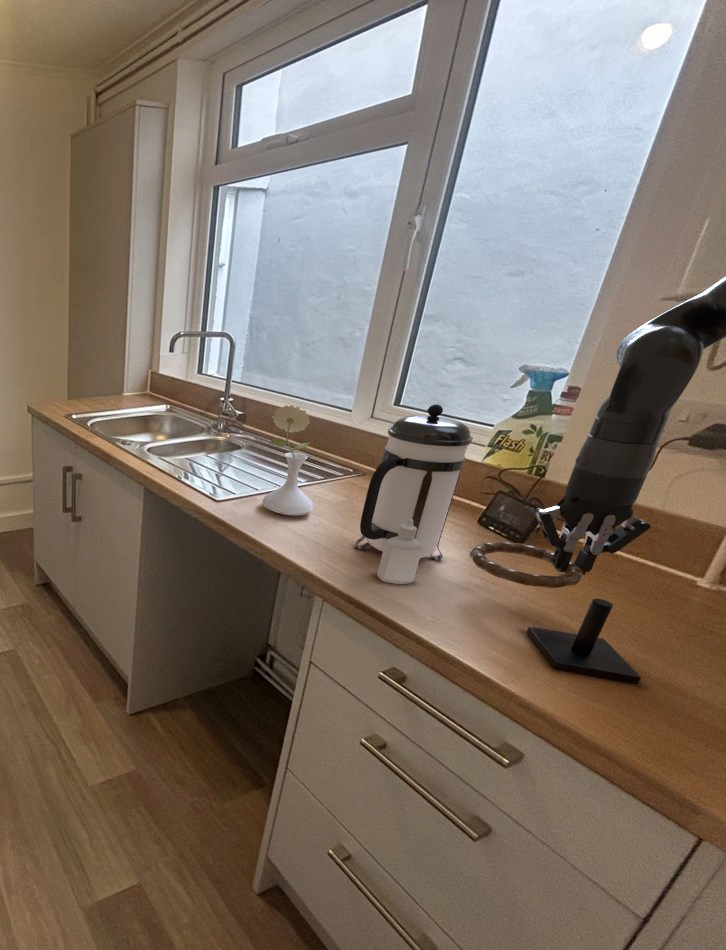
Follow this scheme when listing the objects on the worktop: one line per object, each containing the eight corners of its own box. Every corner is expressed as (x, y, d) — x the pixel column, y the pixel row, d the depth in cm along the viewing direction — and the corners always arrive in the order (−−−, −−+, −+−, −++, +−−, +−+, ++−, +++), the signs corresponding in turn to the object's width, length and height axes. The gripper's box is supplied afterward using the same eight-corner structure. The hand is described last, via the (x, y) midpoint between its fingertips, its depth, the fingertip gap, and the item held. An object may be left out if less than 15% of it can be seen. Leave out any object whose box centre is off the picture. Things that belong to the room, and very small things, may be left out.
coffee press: (347, 531, 115) (378, 394, 104) (434, 544, 109) (478, 400, 97) (350, 565, 101) (386, 411, 89) (450, 584, 94) (504, 419, 83)
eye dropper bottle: (411, 589, 93) (429, 527, 88) (375, 580, 96) (390, 520, 91) (413, 579, 96) (430, 519, 92) (378, 570, 99) (393, 512, 95)
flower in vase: (321, 512, 125) (342, 407, 116) (296, 524, 119) (316, 415, 109) (271, 496, 135) (287, 399, 125) (245, 507, 129) (260, 405, 119)
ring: (555, 554, 89) (558, 545, 88) (598, 595, 77) (602, 584, 77) (459, 546, 94) (461, 536, 93) (485, 582, 82) (488, 572, 82)
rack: (600, 645, 78) (625, 591, 74) (637, 684, 70) (668, 627, 67) (526, 632, 81) (546, 580, 77) (553, 669, 73) (578, 613, 70)
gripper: (563, 471, 76) (525, 575, 83) (691, 480, 71) (639, 590, 78) (540, 456, 83) (506, 554, 89) (656, 464, 78) (611, 567, 84)
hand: (568, 571), depth 84 cm, fingers closed on ring, 2 cm apart
